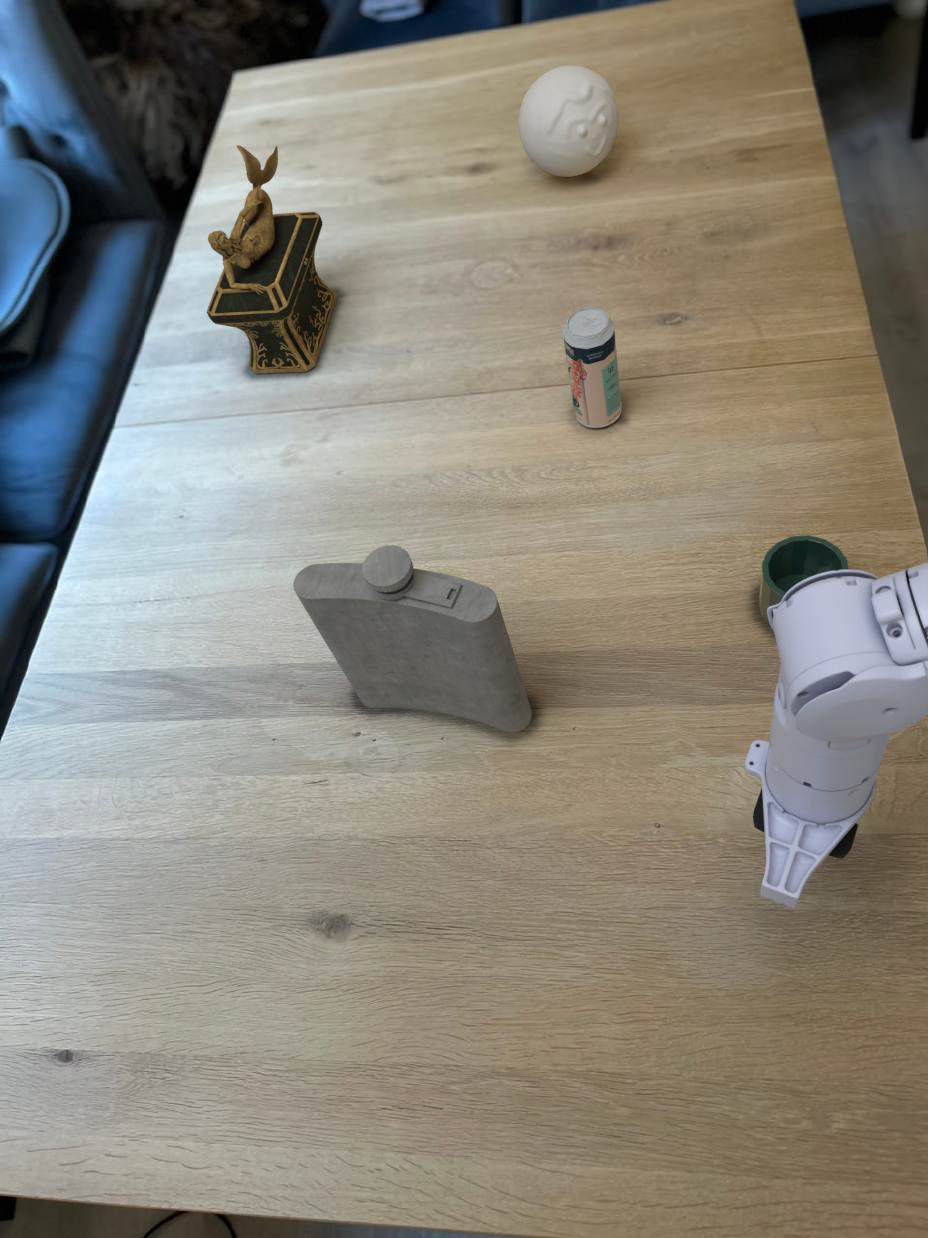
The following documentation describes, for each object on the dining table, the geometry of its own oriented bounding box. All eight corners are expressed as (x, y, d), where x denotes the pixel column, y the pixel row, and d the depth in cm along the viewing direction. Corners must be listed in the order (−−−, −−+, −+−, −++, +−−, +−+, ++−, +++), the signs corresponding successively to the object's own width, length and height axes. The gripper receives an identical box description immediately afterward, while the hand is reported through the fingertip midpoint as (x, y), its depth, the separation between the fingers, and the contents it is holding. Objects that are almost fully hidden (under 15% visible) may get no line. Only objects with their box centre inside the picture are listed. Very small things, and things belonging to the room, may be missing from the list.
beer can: (577, 397, 103) (563, 305, 93) (623, 395, 102) (615, 302, 92) (573, 432, 100) (559, 341, 90) (621, 430, 99) (612, 338, 89)
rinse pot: (850, 585, 85) (858, 547, 80) (827, 648, 82) (835, 612, 77) (772, 565, 87) (776, 527, 83) (748, 625, 84) (751, 589, 80)
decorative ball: (559, 210, 120) (547, 116, 110) (508, 168, 127) (492, 76, 117) (641, 165, 122) (636, 69, 112) (586, 126, 128) (576, 32, 118)
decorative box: (318, 382, 112) (253, 233, 96) (240, 385, 114) (164, 240, 98) (355, 265, 122) (302, 112, 106) (283, 270, 125) (220, 121, 108)
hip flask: (354, 705, 88) (274, 576, 72) (369, 666, 90) (295, 531, 73) (526, 736, 83) (483, 605, 67) (538, 693, 85) (499, 556, 68)
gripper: (790, 612, 57) (776, 718, 68) (707, 836, 51) (706, 913, 62) (919, 646, 54) (883, 751, 66) (848, 888, 48) (821, 958, 60)
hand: (804, 833), depth 64 cm, fingers closed
